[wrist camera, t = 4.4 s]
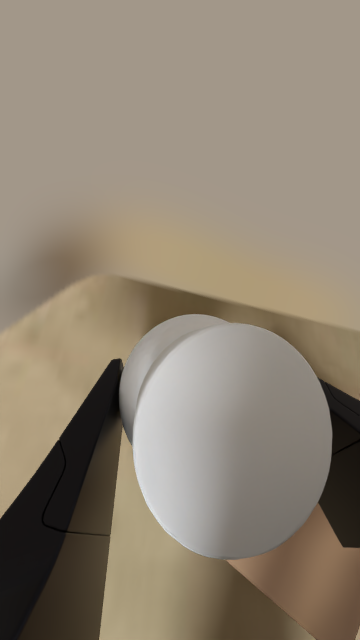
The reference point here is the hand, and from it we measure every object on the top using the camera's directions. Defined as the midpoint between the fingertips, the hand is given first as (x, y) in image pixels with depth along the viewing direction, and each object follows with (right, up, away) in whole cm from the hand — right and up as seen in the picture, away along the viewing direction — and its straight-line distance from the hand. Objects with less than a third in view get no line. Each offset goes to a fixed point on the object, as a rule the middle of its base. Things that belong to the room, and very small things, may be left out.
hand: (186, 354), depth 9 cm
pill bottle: (-1, -2, +6) cm, 7 cm away
